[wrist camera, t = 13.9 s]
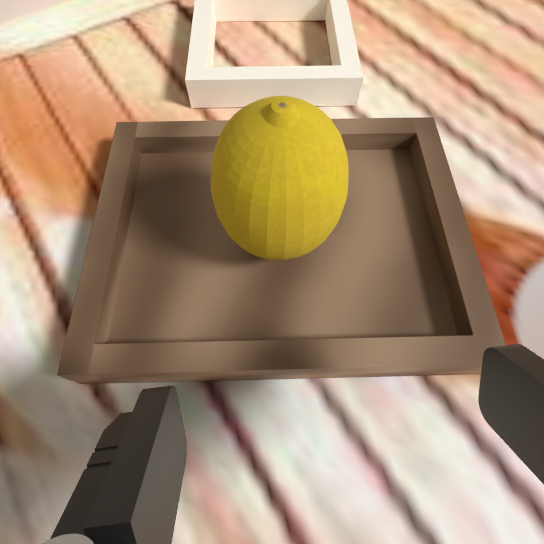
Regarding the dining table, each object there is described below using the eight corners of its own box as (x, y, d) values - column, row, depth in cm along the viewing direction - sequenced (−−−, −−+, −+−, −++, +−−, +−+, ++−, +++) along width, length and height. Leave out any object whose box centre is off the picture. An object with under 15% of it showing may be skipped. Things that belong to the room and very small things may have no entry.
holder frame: (191, 108, 24) (184, 80, 22) (201, 12, 29) (197, -16, 27) (356, 105, 24) (363, 77, 22) (338, 11, 29) (343, -18, 27)
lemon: (220, 289, 17) (185, 172, 10) (226, 195, 20) (201, 49, 13) (336, 288, 17) (383, 171, 10) (327, 195, 20) (359, 48, 13)
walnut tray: (80, 383, 16) (57, 374, 14) (128, 149, 22) (116, 122, 21) (485, 374, 16) (511, 363, 15) (420, 144, 23) (433, 117, 21)
